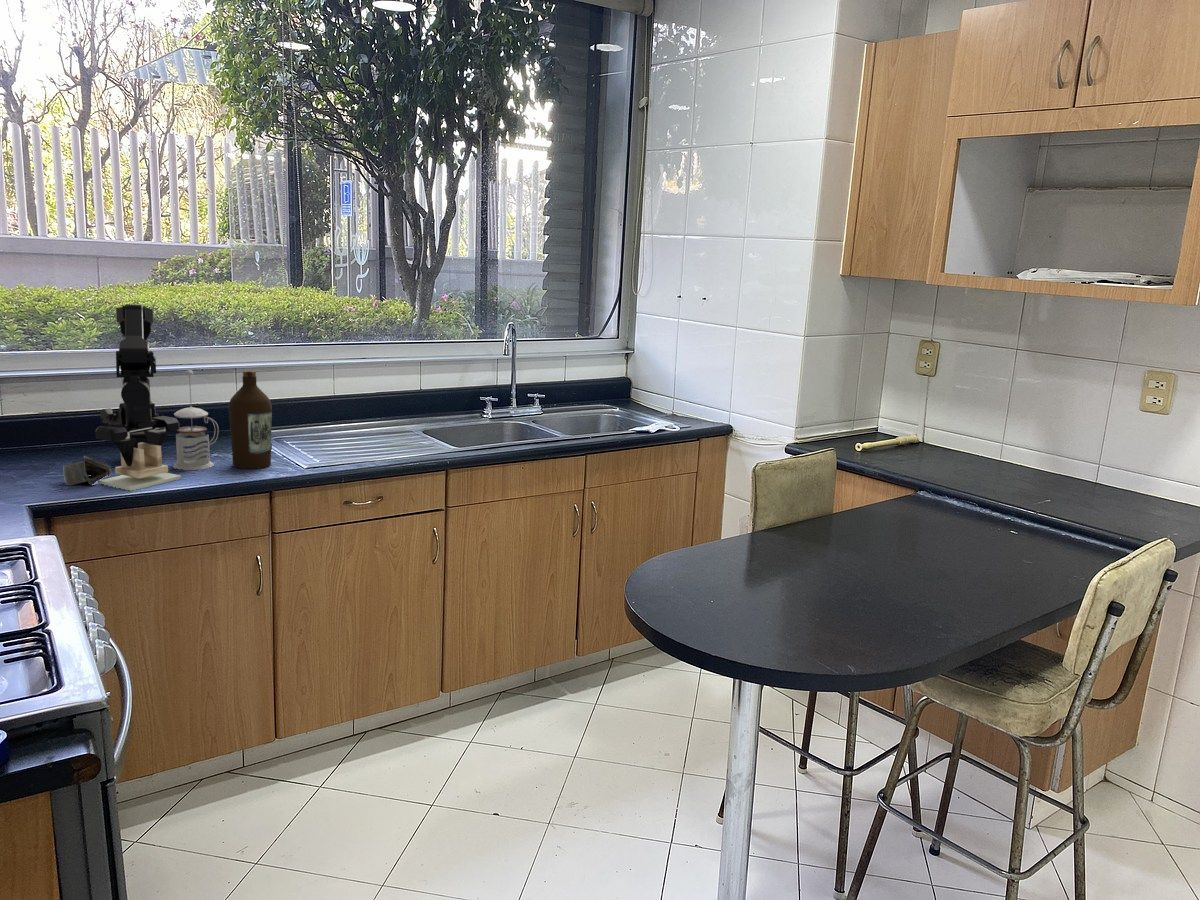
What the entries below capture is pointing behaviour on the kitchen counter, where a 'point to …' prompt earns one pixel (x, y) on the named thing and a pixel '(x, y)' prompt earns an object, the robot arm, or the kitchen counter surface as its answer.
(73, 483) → the chocolate cake
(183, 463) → the french press
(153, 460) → the wooden slotted holder
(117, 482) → the sage board
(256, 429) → the olive oil
